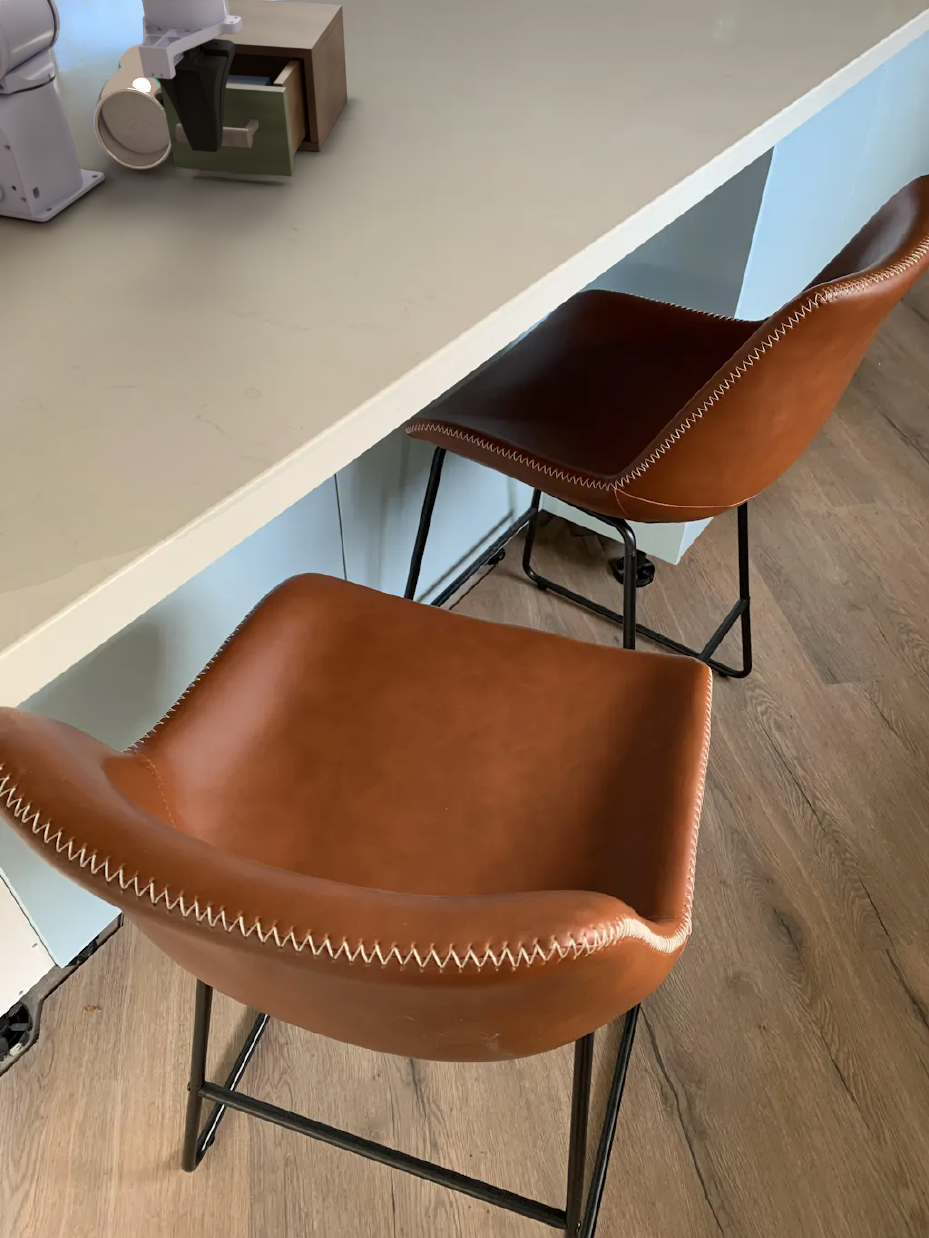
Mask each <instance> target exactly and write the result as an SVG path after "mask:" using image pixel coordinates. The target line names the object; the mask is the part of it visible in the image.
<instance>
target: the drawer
mask: <svg viewBox="0 0 929 1238" xmlns="http://www.w3.org/2000/svg"><path fill="white" fill-rule="evenodd" d="M228 75H239V76H256V77H269V78H270V83H271V86H259V85H245V84H231V83H227V84H226V90H225V99H224V117H223V135H222V144H221V147H220V148H219V150H218V151H217V152H206V151H193V150H192V148H191V146H190V144H189V142H188V139H187V137H186V135H185V132H184V130H183V127H182V125H181V122H180V120H179V117H178V115H177V113H176V110H175V108H174V106H173V104H172V102H171V100H170V98H169V96H168V95H167V93H166V91H165V90H164V88H163V87H162V85H161V84H160V87H161V92H162V98H163V103H164V108H165V114H166V119H167V124H168V130H169V135H170V140H171V146H172V150H171V152H172V156H173V162H174V166H175V168H176V169H188V170H200V171H215V172H227V173H239V174H241V173H242V174H252V175H253V174H255V175H266V176H279V177H281V176H282V177H293V176H294V174H295V171H296V169H295V159H294V155H295V154H296V152H297V151H298V150H297V149H298V147H299V145H300V144H301V142H302V140H303V139H304V137H305V135H306V134H307V132H308V130H309V129H310V128H309V116H308V105H307V93H306V81H305V69H304V58H293V57H278V56H264V55H249V54H234V57H233V60H232V63H231V66H230V70H229V74H228Z"/></svg>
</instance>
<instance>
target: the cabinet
mask: <svg viewBox="0 0 929 1238" xmlns="http://www.w3.org/2000/svg"><path fill="white" fill-rule="evenodd" d="M228 5H229V12H230V15H231V16H239V17H241V19H242V29H241V30H240V31H239V32H238V33H236V34H223V35H221V36H219V37H216V38H214V39H223V40H230V41H232V42H233V43H234V46H235V54H249V55H264V56H278V57H293V58H304V69H305V81H306V93H307V105H308V116H309V128H310V129H309V130H308V132H307V134H306V135H305V137H304V139H303V140H302V142H301V144H300V145H299V147H298V149H297V150H296V151H312V152H320V151H321V149H322V148H323V146H324V144H325V142H326V141H327V138H328V137H329V135H330V133H331V131H332V129H333V128H334V126H335V124H336V122H337V120H338V118H339V117H340V115H341V113H342V111H343V109H344V108H345V106H346V104H347V102H348V86H347V85H348V84H347V68H346V67H347V66H346V50H345V49H346V48H345V34H344V33H345V32H344V31H345V30H344V16H343V15H344V13H343V5H342V4H335V3H334V4H333V3H319V2H303V1H290V0H289V1H288V0H228Z"/></svg>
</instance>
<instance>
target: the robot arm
mask: <svg viewBox="0 0 929 1238" xmlns="http://www.w3.org/2000/svg"><path fill="white" fill-rule="evenodd" d="M141 4H142V8H143V14H144V15H143V16H142V38H143V39H142V42H141V44H139V45H140V46H139V47H138V48H139V53H140V58H141V63H142V68H143V73H144V77H148V78H157V79H158V81H159V82H160V84H161V85H162V87H163V88H164V90H165V91H166V93H167V95H168V96H169V98H170V100H171V102H172V104H173V106H174V108H175V110H176V113H177V115H178V117H179V120H180V122H181V125H182V127H183V130H184V132H185V135H186V137H187V139H188V142H189V144H190V146H191V148H192V150H193V151H206V152H217V151H218V150H219V148H220V147H221V144H222V135H223V117H224V99H225V90H226V84H227V78H228V74H229V70H230V66H231V63H232V60H233V57H234V54H235V46H234V43H233V42H232V41H230V40H223V39H214V38H216V37H219V36H221V35H223V34H236V33H238V32H239V31H240V30H241V29H242V19H241V17H239V16H231V15H230V12H229V5H228V0H141ZM60 30H61V18H60V14H59V10H58V7H57V3H56V2H55V0H0V216H4V217H10V218H15V219H16V218H17V219H22V220H28V221H35V222H40V223H45V222H47V221H49V220H50V219H52V218H53V217H55V216H56V215H58V214H59V213H60V212H61V211H63V210H64V209H66V208H67V207H68V206H70V205H71V204H73V203H74V202H75V201H77V200H79V198H81V197H82V196H84V195H85V194H87V192H89V191H91V190H92V189H93V188H95V187H96V186H97V185H98V184H100V183H101V182H103V181H104V180H105V179H106V177H105V173H104V172H101V171H97V170H96V171H95V170H89V169H84V168H83V169H82V168H81V165H80V162H79V158H78V153H77V150H76V146H75V142H74V138H73V135H72V131H71V127H70V123H69V119H68V114H67V111H66V107H65V103H64V100H63V96H62V92H61V88H60V83H59V80H58V76H57V73H56V69H55V64H56V60H55V56H54V52H53V47H54V46H55V45H56V43H57V41H58V39H59V36H60Z"/></svg>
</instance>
